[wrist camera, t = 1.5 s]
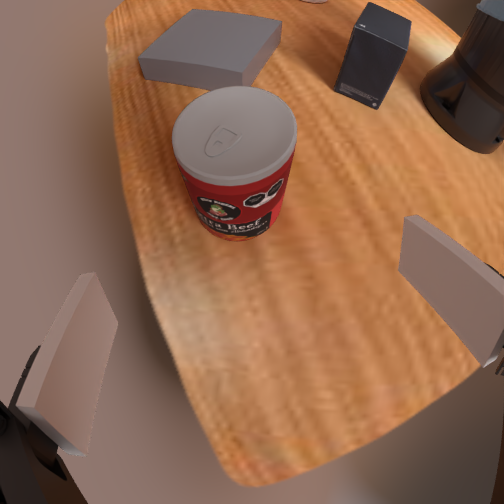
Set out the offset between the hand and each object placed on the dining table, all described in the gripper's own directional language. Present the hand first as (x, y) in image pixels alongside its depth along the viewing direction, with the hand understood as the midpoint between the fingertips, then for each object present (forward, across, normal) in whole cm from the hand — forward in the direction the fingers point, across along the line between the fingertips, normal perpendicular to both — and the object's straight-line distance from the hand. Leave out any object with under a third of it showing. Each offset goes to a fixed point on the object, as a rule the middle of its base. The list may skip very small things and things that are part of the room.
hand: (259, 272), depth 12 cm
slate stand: (+33, +1, +14) cm, 36 cm away
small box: (+28, +20, +8) cm, 35 cm away
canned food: (+16, 0, -3) cm, 17 cm away
